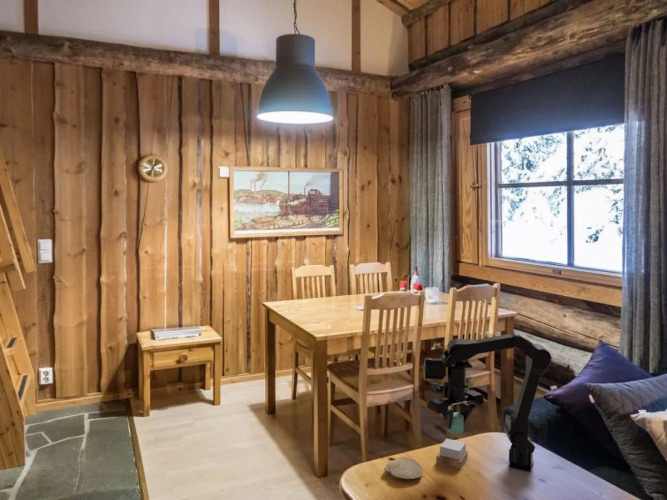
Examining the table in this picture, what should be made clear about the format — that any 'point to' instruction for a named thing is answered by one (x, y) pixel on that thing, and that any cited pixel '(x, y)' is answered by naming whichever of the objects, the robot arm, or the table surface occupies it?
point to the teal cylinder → (457, 423)
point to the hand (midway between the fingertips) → (455, 427)
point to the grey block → (453, 449)
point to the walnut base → (451, 461)
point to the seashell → (404, 468)
